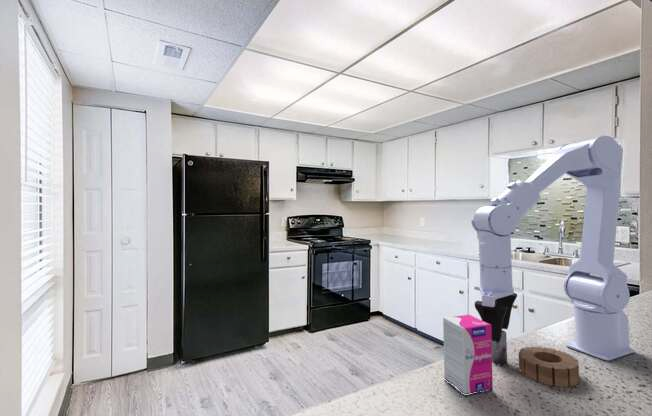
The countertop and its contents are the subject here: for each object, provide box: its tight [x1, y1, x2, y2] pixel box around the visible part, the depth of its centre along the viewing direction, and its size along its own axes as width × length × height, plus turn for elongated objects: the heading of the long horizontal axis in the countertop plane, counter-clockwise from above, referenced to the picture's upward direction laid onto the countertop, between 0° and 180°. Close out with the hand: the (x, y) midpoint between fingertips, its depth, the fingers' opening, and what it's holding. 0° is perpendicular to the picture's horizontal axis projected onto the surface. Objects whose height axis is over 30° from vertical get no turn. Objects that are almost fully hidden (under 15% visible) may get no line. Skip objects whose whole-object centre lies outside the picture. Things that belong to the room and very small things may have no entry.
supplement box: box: [442, 314, 494, 394], centre depth 57 cm, size 6×6×12 cm
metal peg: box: [492, 329, 508, 366], centre depth 65 cm, size 3×3×6 cm
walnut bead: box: [518, 346, 580, 388], centre depth 60 cm, size 9×9×3 cm
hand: (498, 333), depth 65 cm, fingers open, 7 cm apart
